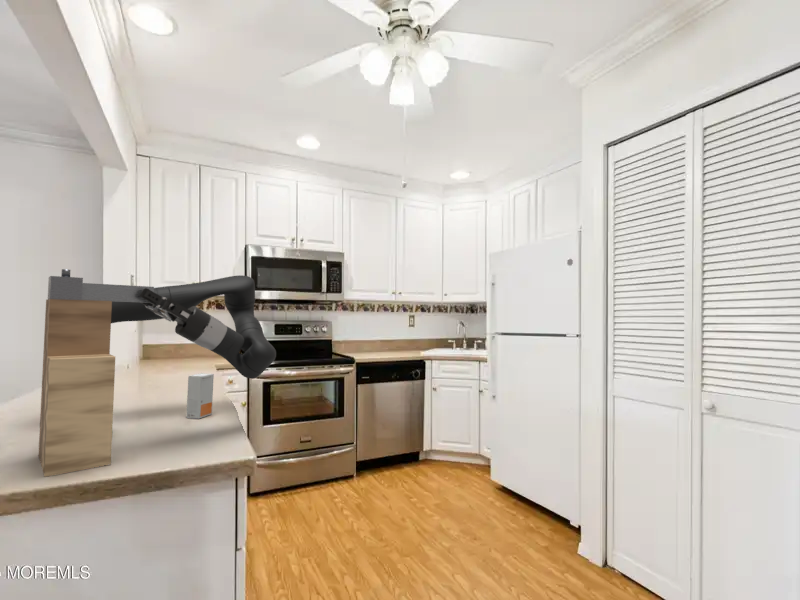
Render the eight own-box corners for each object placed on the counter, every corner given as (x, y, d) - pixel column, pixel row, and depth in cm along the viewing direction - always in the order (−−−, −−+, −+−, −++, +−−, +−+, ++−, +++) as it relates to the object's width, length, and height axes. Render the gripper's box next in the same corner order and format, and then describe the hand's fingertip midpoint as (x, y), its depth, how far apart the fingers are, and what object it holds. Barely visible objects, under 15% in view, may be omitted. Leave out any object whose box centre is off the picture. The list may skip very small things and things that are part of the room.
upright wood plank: (38, 455, 88) (46, 299, 89) (97, 446, 95) (103, 301, 96) (44, 476, 77) (53, 298, 78) (110, 464, 84) (117, 300, 85)
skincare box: (199, 419, 121) (200, 376, 121) (185, 418, 121) (187, 375, 122) (212, 414, 127) (214, 373, 127) (200, 413, 127) (201, 372, 128)
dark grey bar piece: (47, 299, 87) (49, 269, 87) (148, 302, 99) (149, 276, 99) (49, 299, 83) (51, 267, 83) (154, 302, 95) (155, 275, 96)
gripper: (200, 315, 111) (139, 279, 102) (221, 315, 101) (155, 276, 92) (183, 340, 108) (119, 306, 99) (203, 344, 98) (134, 306, 89)
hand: (137, 292), depth 95 cm, fingers open, 8 cm apart
